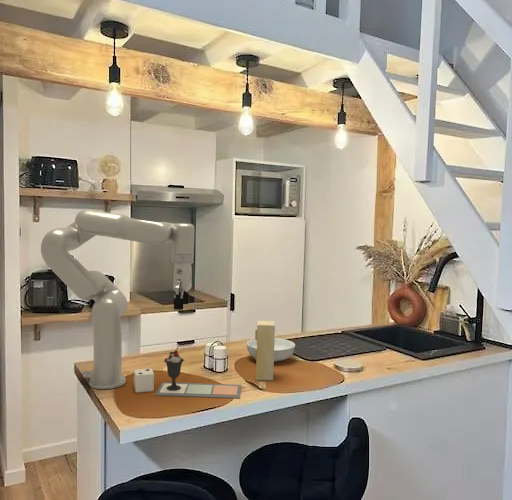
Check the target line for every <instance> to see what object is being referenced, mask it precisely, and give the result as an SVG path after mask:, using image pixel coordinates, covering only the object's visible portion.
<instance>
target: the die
mask: <svg viewBox="0 0 512 500" xmlns="http://www.w3.org/2000/svg"><path fill="white" fill-rule="evenodd" d="M133 373H134V374H133V375H134V376H133V378H134V379H133V385H134V386H133V388H134V391H135V393H145V392H154V391H155V387H154V386H155V382H154V381H155V373H154V370H153V369H152V368H151V367H150V368H140V369H134V371H133Z"/></svg>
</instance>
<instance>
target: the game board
mask: <svg viewBox="0 0 512 500" xmlns="http://www.w3.org/2000/svg"><path fill="white" fill-rule="evenodd" d="M171 385H172V381H171V382H166V381H162V382H161V384H160V385H159V387H158V389H157V390H156V392H155V394H154V396H155V397H181V398H182V397H183V398H185V397H186V398H187V397H188V398H189V397H190V398H211V399H212V398H215V399H216V398H217V399H240V398H241V390H242V384H233V383H232V384H230V383H225V384H224V383H199V382H197V383H196V382H176V385H178V386H180V387H181V389H179V390H176V391H170V390H168V389H167V387H168V386H171Z"/></svg>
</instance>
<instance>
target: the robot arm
mask: <svg viewBox="0 0 512 500" xmlns="http://www.w3.org/2000/svg"><path fill="white" fill-rule="evenodd" d="M95 236H99V237H107V238H111V239H112V238H113V239H119V240H123V241H132V242H136V243H143V244H149V245H158V246H159V245H164V244H167V243H171V245H172V246H171V247H172V249H171V251H172V252H171V263H172V264H174V268H173V285H172V287H173V291H174V296H173V309H174V310H179V311H182V310H183V309H184V305H188V304H190V303H189V298H190V297H189V296H190V292H189V291H190V290H191V289H192V287H193V285H192V284H193V281H192V280H193V277H192V276H193V271H192V270H193V269H192V264H194V258H195V251H194V249H195V226H194V224H192V223H185V222H183V223H181V222H179V223H172V222H166V221H159V222H156V221H152V220H151V221H150V220H143V219H137V218H133V217H130V216H128V215H127V214H126V215H125V214H121V213H115V212H107V211H100V210H98V209H82V210H80V211H79V212H78V213H77V214H76V215H75V219H74V222H72V223H70V224H69V225H68V226H65V227H58V228H54V229H51V230H49V231H48V232H46V233H45V235H44V236H43V238H42V241H41V243H40V252H41V253H40V254H41V257H42V259H43V262H44V263H45V264H46V266H47V267H48V268H49V269H50V270H51V271H52V272H53V273H54V275H56V276H57V277H58V278H59V279H60V280H61V281H62V282H63V283H64V284H65V285H66V286H67V288H68V289H69V290H71V292H72V293H73V294H74V295H75V296H76V297H77V298H78V299H80V300H82V301H89V300H93V301H94V304H93V305H92V309H91V320H92V327H93V328H92V329H93V331H92V332H93V333H92V334H93V369H92V370H82V372H81V374H82V377H83V378H84V379H87V378H88V379H89V380H88V385H89V387H91V388H94V389H97V390H98V389H99V390H107V389H108V390H110V389H116V388H119V387H122V386H123V385H125V384H126V381H127V379H126V377H125V376H124V375H122V350H123V349H122V345H123V344H122V340H123V339H122V336H123V335H122V334H123V333H122V325H121V316H122V315H124V314H125V312H126V311H127V309H128V304H129V303H128V299H127V297H126V296H125V294H124V293H123V292H122V291H121V290H120V289H119V288H118V287H117V286H116V285H115V284H114V282H112V281H111V280H110V279H109V278H108V277H107V276H106V275H105V274H104V273H102V272H101V271H97V270H88V269H87V268H86V267H85V266H84V265H83V264H81V262H80V261H79V260H78V259H77V258H75V257H74V256H73V255H71V254H70V251H74V250H76V249H78V248H80V247H81V246H83V244H85V243H87V242H88V241H90V240H92V238H95Z"/></svg>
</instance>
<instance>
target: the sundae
mask: <svg viewBox="0 0 512 500" xmlns="http://www.w3.org/2000/svg"><path fill="white" fill-rule="evenodd" d="M178 349H179V347H176V349H175V350H174V351H170V352H169V355H168V357H167V358H164V363H165V364H166V368H167V375H168V377H169V378H170V379H171V382H172V385H171V386H168V387H167V389H168V390H170V391H176V390H179V389H181V387H180V386H178V385H176V383H177V381H176V379H177V378H179V376H180V375H181V369H182V365H183V364H182V363H183V362H184V361H185V360H184V358H182V357H181V355H180V353H179V352H178Z"/></svg>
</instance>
